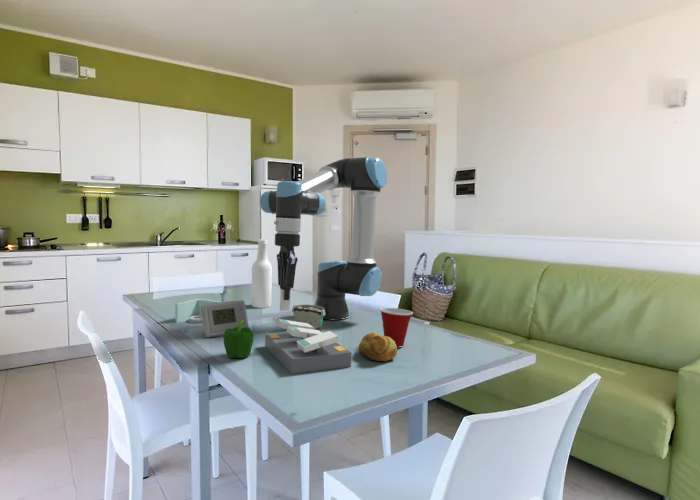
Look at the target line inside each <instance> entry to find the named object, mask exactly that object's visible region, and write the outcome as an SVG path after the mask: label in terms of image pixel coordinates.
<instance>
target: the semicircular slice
mask: <svg viewBox="0 0 700 500" xmlns="http://www.w3.org/2000/svg"><path fill="white" fill-rule="evenodd" d="M291 312H292V313H293V321H295V322H302V323H308V324H310V325H311V326H313V327H314V330H315V329H316V330H319V331H320V332H322V328H323V322H324V320H323V316H325V310H324V308H323V307H321V306H317V305H315V304H298V305H293V307H292V309H291Z"/></svg>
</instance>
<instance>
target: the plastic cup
mask: <svg viewBox="0 0 700 500" xmlns="http://www.w3.org/2000/svg"><path fill="white" fill-rule="evenodd" d="M379 311H380V313H381V319H382V328H383V329H382V331H383V336H387V337H390V338H391V339H392V340H393V341H395V344H396V346H397V347H399V346H403V347H404V345H405V339H406V336H407V332H408V329H409V323H410V321H411V318H412V315H413V314H414V312H413V311H411V310H407V309H403V308H396V307H381V308H379Z"/></svg>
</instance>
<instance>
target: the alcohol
mask: <svg viewBox="0 0 700 500" xmlns="http://www.w3.org/2000/svg"><path fill="white" fill-rule="evenodd" d="M257 245H258V246H257V254H256V255H257V256H256V260H254V262H253V264H252V266H251V291H250V292H251V294H250V296H251V297H250V305H251V307H252V308H254V309H268V308H271V305H272V292H273V291H272V284H273V266H272V264H271V262H270V261H269V259H268V258H269V257H268V240H267V239H258V240H257Z"/></svg>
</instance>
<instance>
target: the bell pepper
mask: <svg viewBox="0 0 700 500" xmlns="http://www.w3.org/2000/svg"><path fill="white" fill-rule="evenodd" d="M244 323H245V321H241V322H240V323H239V325H238V327H235V328H233V329H226V331H225V333H224V336H223V345H224V350H225V353H226V355H227V357H229V358H231V359H234V358H237V359H245V358H247V357H249V356H250V354H251V351H252V347H253V343H254V333H253V330H251V328H250V327H245V328H241V327H242V324H244Z"/></svg>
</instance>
